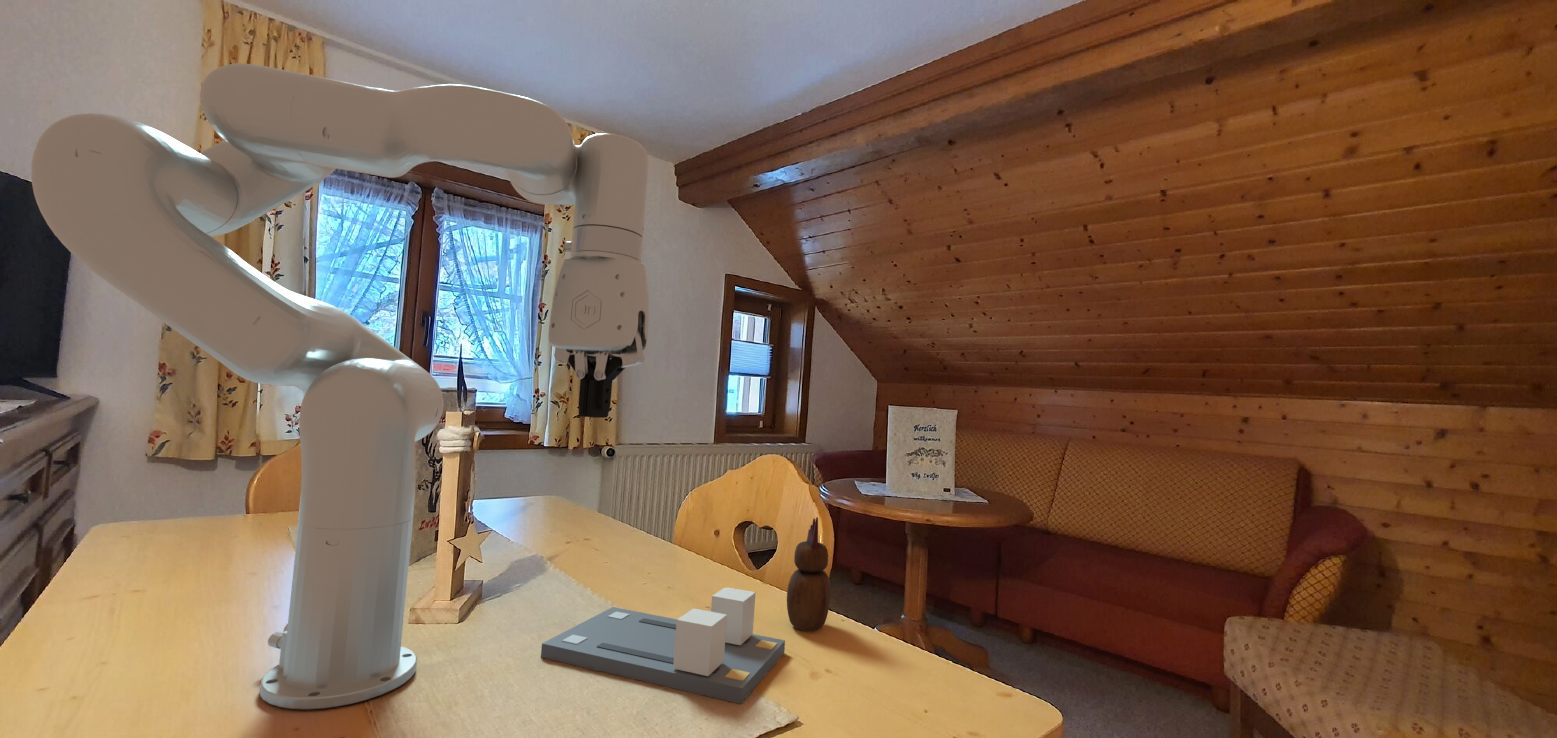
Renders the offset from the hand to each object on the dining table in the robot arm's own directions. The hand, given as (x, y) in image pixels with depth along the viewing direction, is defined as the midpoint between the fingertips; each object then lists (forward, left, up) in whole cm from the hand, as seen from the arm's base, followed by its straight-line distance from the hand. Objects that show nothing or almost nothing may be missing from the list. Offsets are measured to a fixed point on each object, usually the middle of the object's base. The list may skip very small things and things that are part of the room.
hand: (593, 416), depth 69 cm
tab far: (+13, +13, -25) cm, 31 cm away
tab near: (+13, +4, -25) cm, 29 cm away
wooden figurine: (+19, +25, -27) cm, 42 cm away
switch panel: (+7, +8, -27) cm, 29 cm away
